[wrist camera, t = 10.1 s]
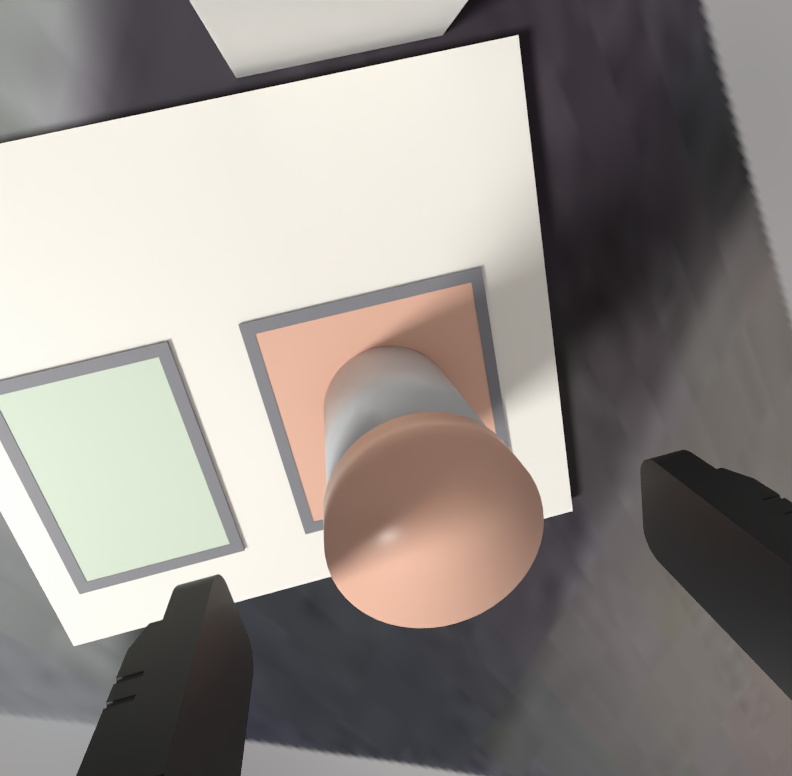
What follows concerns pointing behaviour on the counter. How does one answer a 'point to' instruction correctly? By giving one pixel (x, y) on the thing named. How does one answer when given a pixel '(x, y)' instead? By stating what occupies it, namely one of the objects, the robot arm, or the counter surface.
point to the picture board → (255, 317)
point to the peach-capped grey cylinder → (420, 495)
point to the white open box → (316, 28)
